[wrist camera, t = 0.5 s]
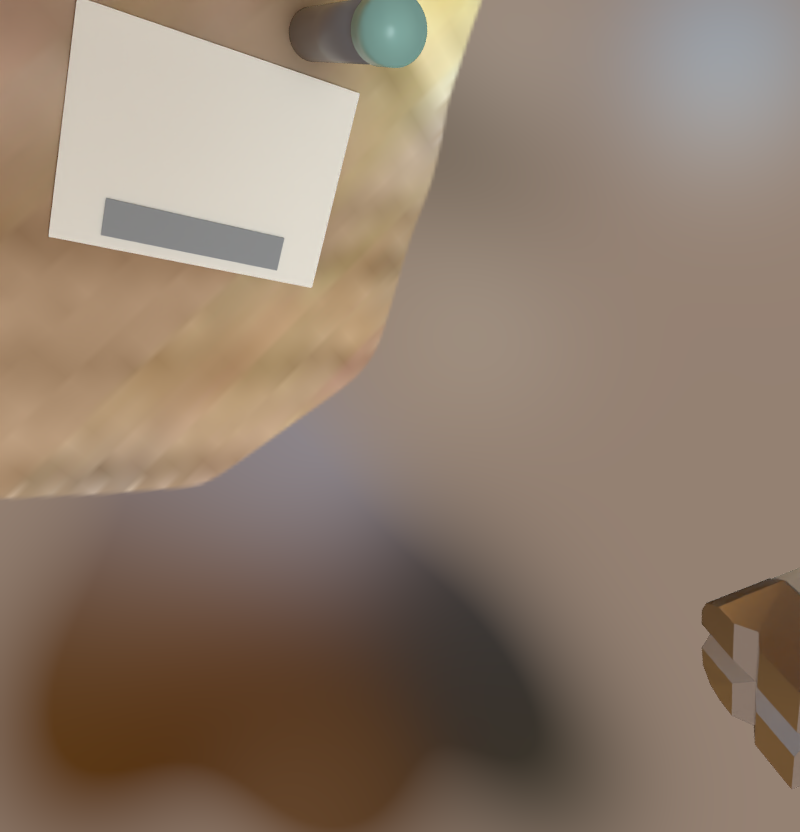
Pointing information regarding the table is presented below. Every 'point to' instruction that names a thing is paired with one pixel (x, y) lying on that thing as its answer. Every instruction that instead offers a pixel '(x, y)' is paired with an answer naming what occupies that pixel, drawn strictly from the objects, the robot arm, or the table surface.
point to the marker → (360, 32)
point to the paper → (195, 150)
